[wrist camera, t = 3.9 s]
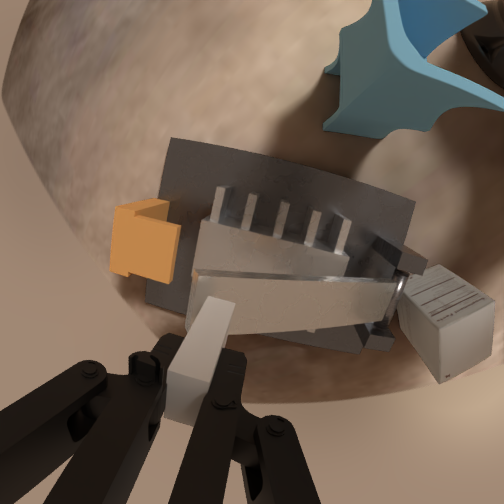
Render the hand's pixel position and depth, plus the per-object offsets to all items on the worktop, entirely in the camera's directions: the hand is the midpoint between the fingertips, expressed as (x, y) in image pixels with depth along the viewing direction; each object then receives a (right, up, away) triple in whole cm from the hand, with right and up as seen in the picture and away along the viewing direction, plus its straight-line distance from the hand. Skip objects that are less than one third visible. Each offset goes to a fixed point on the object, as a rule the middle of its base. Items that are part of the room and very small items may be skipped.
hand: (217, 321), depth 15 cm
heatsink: (+4, +4, +17) cm, 18 cm away
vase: (+14, +20, +12) cm, 28 cm away
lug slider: (-7, +6, +16) cm, 18 cm away
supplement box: (+24, -2, +17) cm, 29 cm away
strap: (+7, 0, +6) cm, 10 cm away
